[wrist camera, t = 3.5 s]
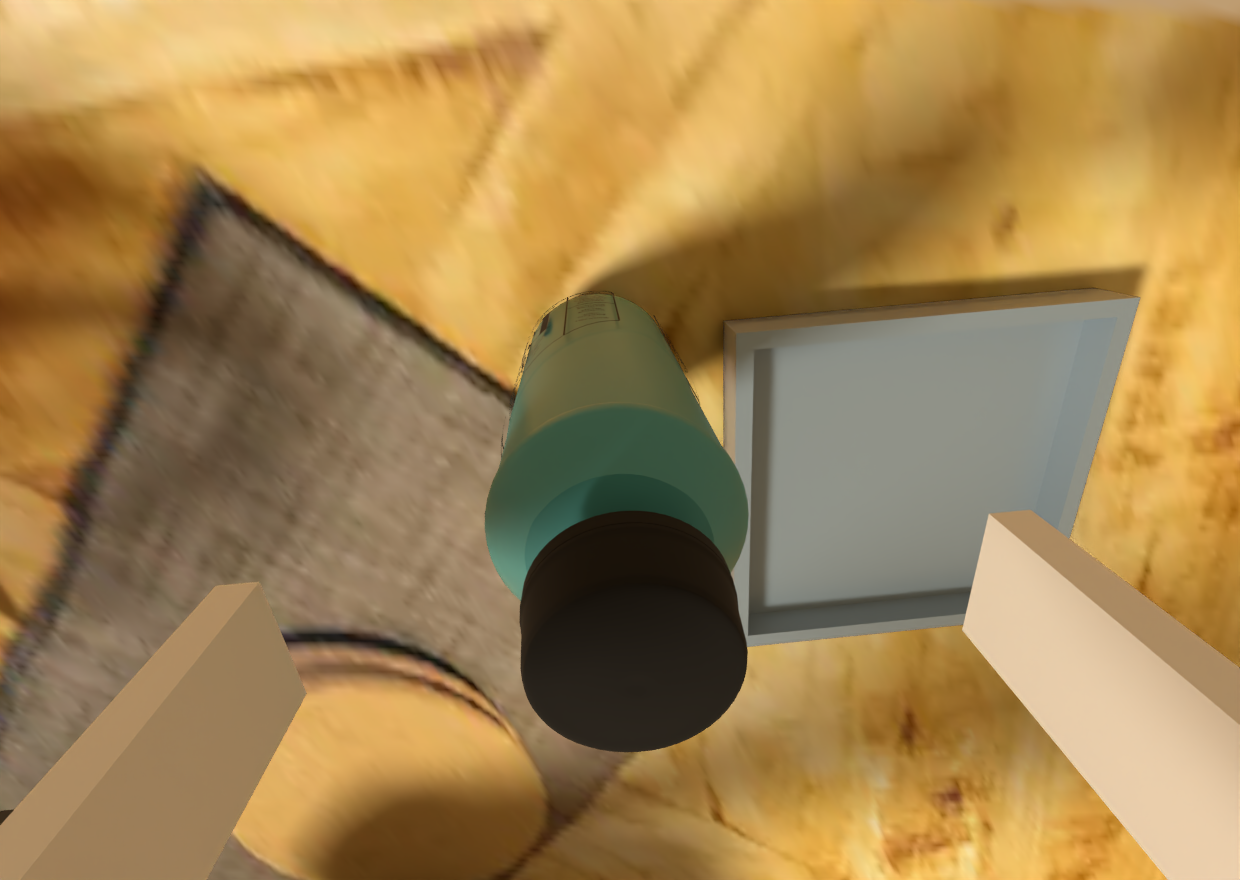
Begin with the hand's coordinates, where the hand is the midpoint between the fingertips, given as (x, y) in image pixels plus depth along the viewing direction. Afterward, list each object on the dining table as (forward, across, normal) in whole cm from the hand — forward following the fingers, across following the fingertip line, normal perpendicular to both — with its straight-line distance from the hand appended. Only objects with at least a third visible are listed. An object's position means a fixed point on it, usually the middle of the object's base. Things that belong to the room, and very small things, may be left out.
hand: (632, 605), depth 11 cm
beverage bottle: (+19, 0, 0) cm, 19 cm away
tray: (+18, +15, -8) cm, 25 cm away
